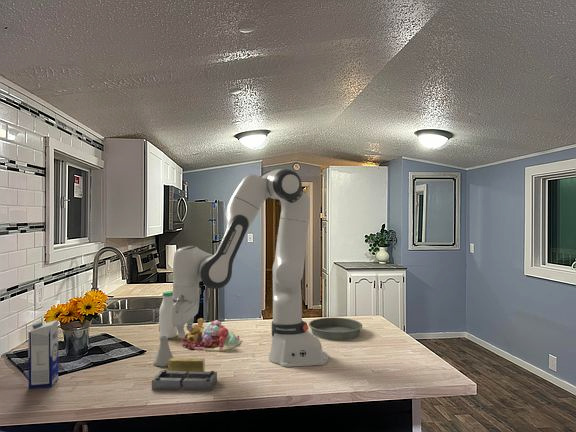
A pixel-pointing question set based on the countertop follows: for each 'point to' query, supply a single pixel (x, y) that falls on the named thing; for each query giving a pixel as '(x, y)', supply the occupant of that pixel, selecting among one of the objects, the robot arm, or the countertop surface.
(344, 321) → the cake pan
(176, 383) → the link
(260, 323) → the countertop surface
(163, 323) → the milk bottle
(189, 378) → the grey forked link
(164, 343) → the flask
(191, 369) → the tall mustard post
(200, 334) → the candy landscape model
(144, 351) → the countertop surface
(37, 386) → the milk carton
